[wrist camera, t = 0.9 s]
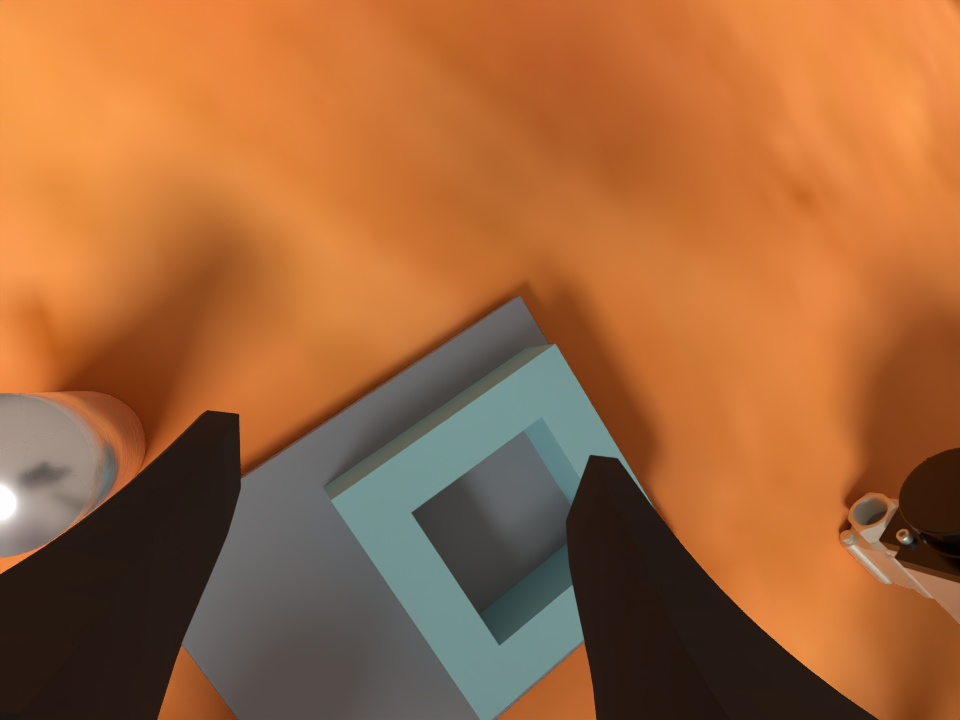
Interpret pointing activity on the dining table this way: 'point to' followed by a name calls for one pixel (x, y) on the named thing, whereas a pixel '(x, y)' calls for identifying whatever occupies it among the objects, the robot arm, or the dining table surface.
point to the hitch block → (410, 543)
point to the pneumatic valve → (914, 532)
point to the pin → (61, 461)
